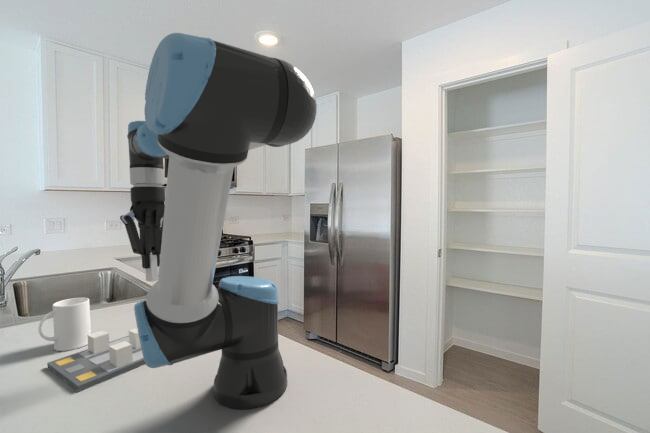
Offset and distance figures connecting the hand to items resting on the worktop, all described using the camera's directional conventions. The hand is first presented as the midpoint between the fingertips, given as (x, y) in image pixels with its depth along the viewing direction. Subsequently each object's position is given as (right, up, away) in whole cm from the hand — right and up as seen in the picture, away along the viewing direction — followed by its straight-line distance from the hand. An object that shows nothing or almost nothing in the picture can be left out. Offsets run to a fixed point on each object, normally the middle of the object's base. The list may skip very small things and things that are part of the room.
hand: (151, 280), depth 83 cm
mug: (-27, -20, +7) cm, 34 cm away
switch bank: (-9, -20, 0) cm, 22 cm away
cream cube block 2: (-6, -18, +5) cm, 20 cm away
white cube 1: (-5, -19, -4) cm, 20 cm away
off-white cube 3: (-15, -18, +2) cm, 24 cm away
